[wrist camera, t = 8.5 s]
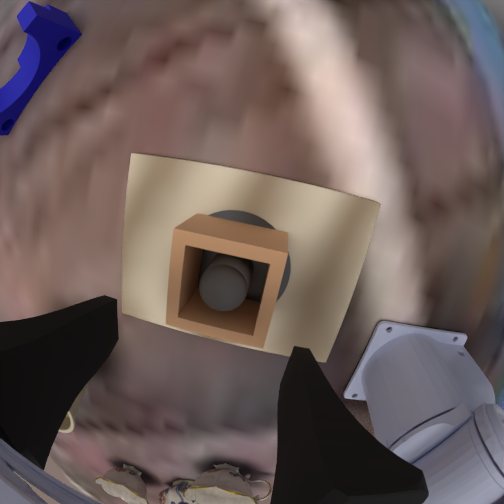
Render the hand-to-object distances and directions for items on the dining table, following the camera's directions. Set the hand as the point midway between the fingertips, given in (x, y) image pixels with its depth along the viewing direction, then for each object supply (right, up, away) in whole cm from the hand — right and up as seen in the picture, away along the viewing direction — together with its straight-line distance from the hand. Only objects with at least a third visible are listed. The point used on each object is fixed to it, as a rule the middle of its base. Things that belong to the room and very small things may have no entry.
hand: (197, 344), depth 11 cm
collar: (+1, +3, +8) cm, 8 cm away
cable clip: (-18, +20, +6) cm, 27 cm away
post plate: (+1, +3, +9) cm, 9 cm away
